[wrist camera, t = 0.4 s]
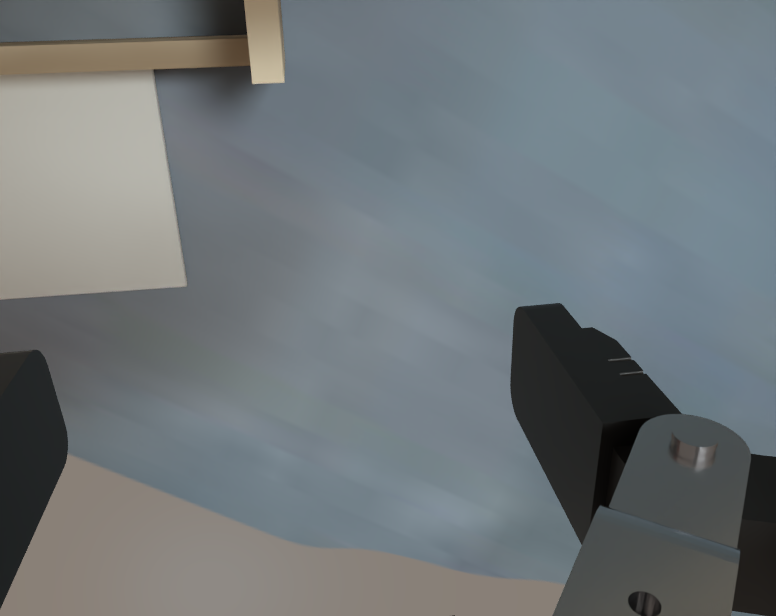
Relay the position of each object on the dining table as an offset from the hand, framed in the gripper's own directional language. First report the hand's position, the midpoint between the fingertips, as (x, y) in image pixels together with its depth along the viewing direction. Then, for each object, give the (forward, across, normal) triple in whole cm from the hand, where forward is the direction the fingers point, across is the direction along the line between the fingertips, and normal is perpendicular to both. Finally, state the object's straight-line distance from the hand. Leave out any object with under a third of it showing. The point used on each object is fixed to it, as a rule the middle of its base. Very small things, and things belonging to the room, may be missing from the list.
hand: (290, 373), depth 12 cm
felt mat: (+27, +14, +4) cm, 31 cm away
